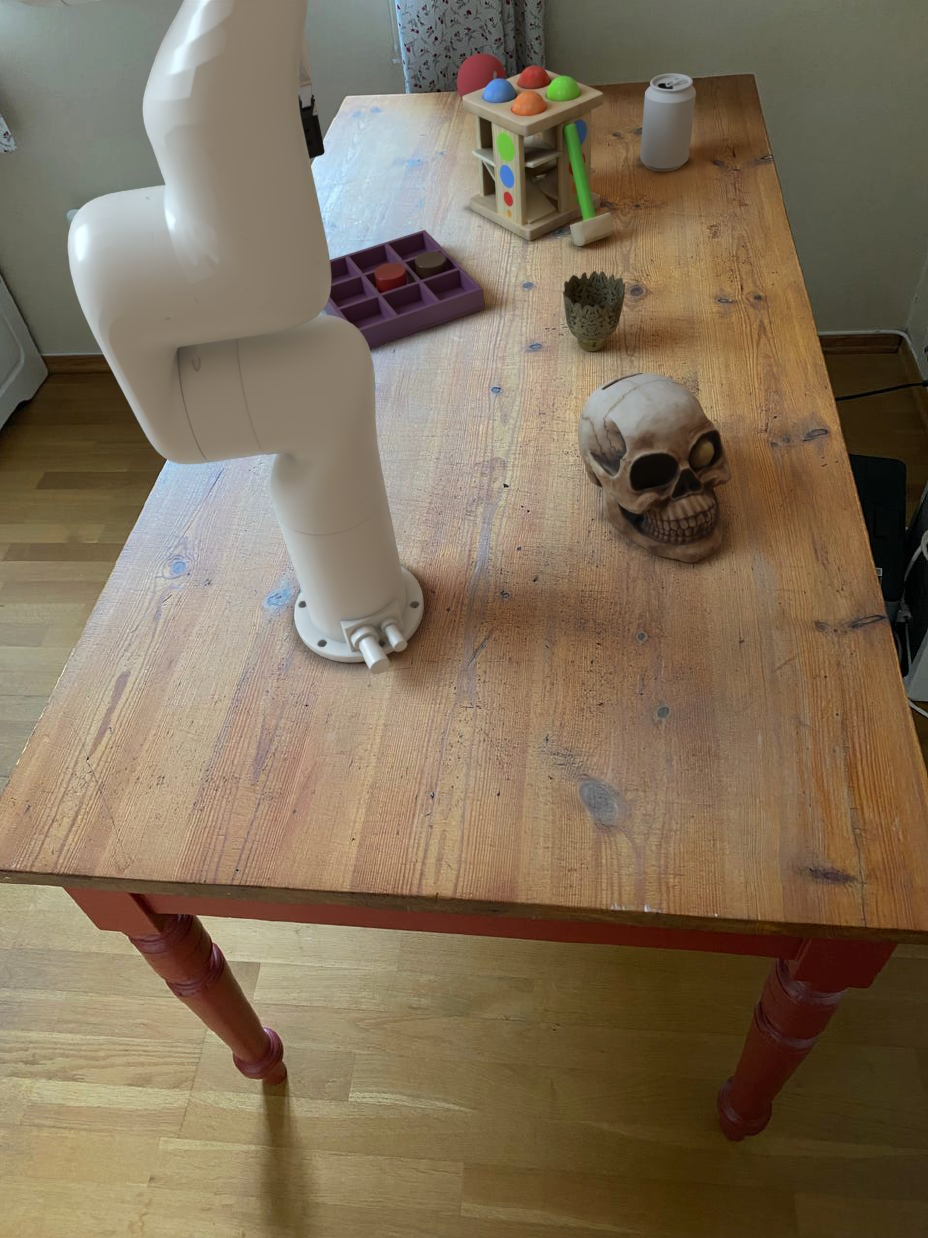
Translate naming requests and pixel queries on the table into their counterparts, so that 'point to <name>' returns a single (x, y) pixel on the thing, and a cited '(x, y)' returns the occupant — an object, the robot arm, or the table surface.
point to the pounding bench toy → (537, 155)
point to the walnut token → (430, 264)
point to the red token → (390, 277)
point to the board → (399, 291)
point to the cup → (593, 308)
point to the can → (667, 122)
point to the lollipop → (478, 73)
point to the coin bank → (655, 464)
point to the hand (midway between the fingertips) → (294, 140)
